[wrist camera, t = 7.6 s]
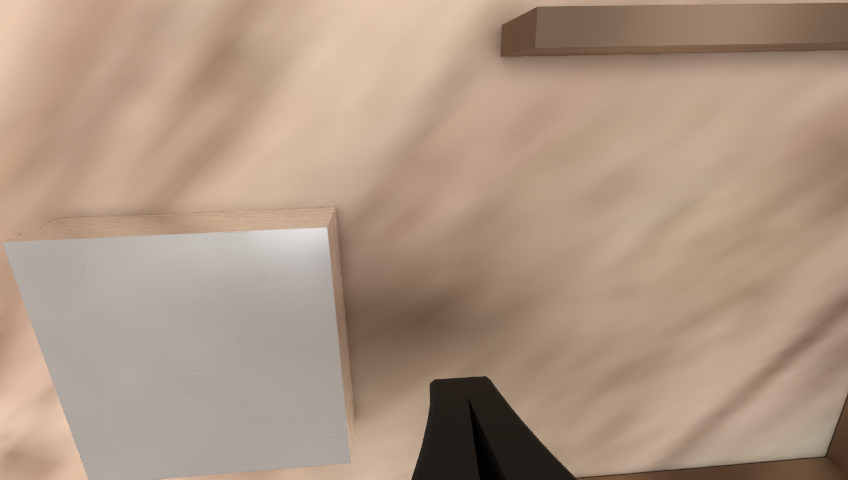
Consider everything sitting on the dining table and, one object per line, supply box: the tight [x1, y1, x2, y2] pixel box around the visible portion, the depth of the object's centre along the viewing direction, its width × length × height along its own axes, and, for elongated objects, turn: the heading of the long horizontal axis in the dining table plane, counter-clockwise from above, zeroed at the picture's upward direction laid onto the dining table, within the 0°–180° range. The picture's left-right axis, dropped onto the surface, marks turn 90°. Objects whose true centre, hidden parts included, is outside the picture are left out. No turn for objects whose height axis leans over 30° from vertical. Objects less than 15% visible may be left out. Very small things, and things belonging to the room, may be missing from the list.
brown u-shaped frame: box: [501, 3, 848, 480], centre depth 14 cm, size 15×18×3 cm
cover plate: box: [2, 207, 355, 480], centre depth 14 cm, size 8×8×2 cm
